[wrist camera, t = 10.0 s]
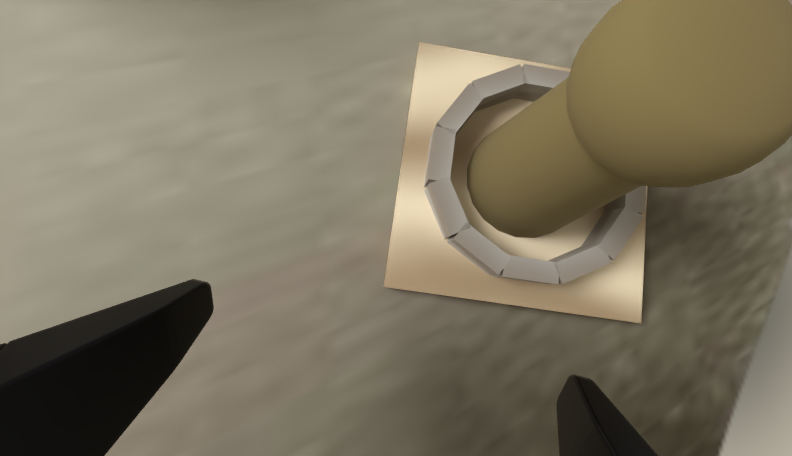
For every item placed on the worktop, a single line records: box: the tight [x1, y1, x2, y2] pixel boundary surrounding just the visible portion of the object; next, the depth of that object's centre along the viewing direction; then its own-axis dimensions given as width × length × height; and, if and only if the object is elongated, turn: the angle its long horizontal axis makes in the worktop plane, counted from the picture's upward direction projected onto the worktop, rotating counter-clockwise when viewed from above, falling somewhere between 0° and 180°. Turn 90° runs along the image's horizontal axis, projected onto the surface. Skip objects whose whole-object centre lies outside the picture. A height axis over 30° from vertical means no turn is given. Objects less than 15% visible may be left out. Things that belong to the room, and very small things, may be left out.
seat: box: [384, 42, 647, 323], centre depth 18 cm, size 13×13×2 cm
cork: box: [467, 0, 792, 238], centre depth 13 cm, size 6×6×11 cm
